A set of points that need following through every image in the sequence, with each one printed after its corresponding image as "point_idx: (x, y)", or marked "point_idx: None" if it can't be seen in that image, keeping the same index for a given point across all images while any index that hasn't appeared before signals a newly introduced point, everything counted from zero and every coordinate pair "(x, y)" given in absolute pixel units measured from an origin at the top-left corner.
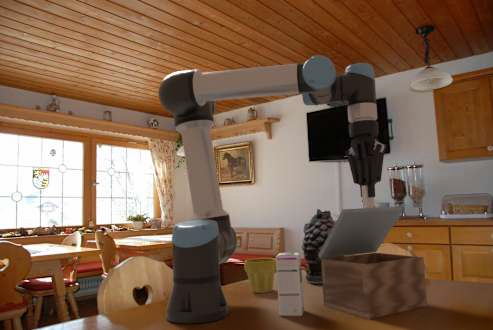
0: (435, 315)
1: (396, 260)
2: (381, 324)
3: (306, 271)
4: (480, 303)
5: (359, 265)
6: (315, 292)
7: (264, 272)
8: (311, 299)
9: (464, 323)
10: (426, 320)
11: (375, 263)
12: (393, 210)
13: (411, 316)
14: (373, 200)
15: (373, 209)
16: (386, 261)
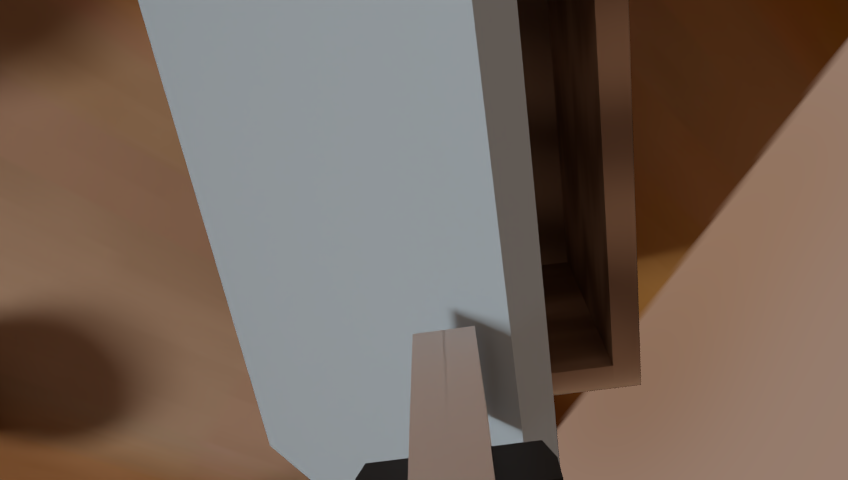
0: (695, 14)
1: (618, 156)
2: (660, 273)
3: None
4: None
5: (597, 387)
6: (55, 205)
7: None
8: (197, 290)
9: (841, 6)
10: (721, 103)
11: (630, 317)
12: (519, 88)
13: (647, 112)
14: (483, 400)
15: (534, 385)
16: (609, 226)
